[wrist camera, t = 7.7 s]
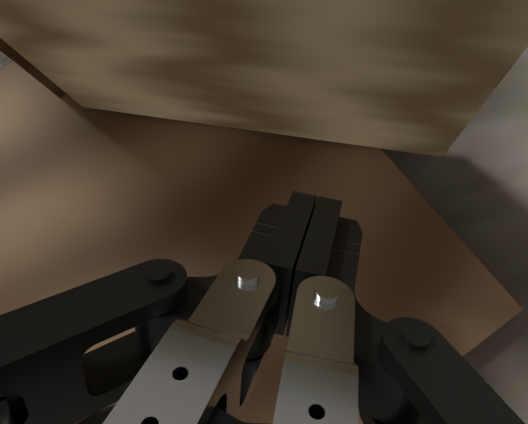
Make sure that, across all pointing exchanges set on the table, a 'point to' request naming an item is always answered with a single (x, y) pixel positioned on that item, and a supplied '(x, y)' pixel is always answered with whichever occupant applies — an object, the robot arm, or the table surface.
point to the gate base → (212, 212)
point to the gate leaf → (280, 62)
